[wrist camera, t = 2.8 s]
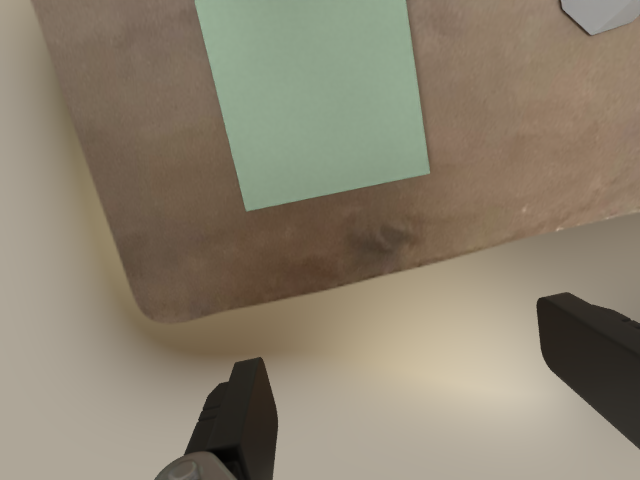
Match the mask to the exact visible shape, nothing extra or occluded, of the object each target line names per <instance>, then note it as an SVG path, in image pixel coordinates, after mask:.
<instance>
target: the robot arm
mask: <svg viewBox="0 0 640 480" xmlns="http://www.w3.org/2000/svg"><path fill="white" fill-rule="evenodd" d="M537 316H538V326H539V336H540V345H541V351H542V355H543V358H544V360H545V362H546V364H547V365H548V367H549V368H550V370H551V371H552V372H554V373H555V374H556V375H557V376H558V377H559V378H560V379H561V380H563V381H564V382H565V383H566V384H567V385H568V386H569V387H570V388H571V389H573V390H574V391H575V392H576V393H577V394H578V395H580V397H582V398H583V399H584V400H585V401H586V402H587V403H588V404H589V405H591V406H592V407H593V408H594V409H595V410H596V411H597V412H598V413H599V414H601V415H602V416H603V417H604V418H605V419H606V420H607V421H608V422H610V423H611V424H612V425H613V426H614V427H615V428H617V429H618V430H619V431H620V432H621V433H622V434H623V435H624V436H625V437H626V438H628V439H629V440H630V441H631V442H632V443H633V444H634V445H635V446H637V447H638V448H639V449H640V323H638V322H636V321H634V320H633V321H631V319H630V318H628V317H626V316H624V315H622V314H620V313H618V312H616V311H614V310H611V309H607V308H604V307H600V306H596V305H591V304H589V303H587V302H585V301H584V300H582V299H580V298H578V297H576V296H574V295H572V294H571V293H567V292H565V293H560V294H556V295H551V296H547V297H542V298H539V299H538V301H537ZM198 420H199V422H197V424H196V426H195V429H194V431H193V434H192V437H191V439H190V441H189V444H188V446H187V449H186V451H185V454H184V456H182V457H180V458H178V459H176V460H175V461H173V462H172V463H170V464H169V465H168V466H166V467H165V468H164V469H163V470H162V471H161V472H160V473H159V474H158V475H157V477H156V478H155V479H154V480H272V479H273V469H274V460H275V451H276V440H277V431H278V417H277V410H276V405H275V401H274V397H273V394H272V390H271V386H270V383H269V379H268V375H267V371H266V368H265V364H264V362H263V359H262V358H261V357H259V358H254V359H250V360H245V361H240V362H236V363H235V364H234V367H233V370H232V373H231V376H230V379H229V382H224V383H220V384H219V385H218V386H217V387H216V388H215V389H214V390H213V391H212V392H211V393H210V394H209V395H208V397H207V399H206V402H205V404H204V407H203V411H202V412H201V414H200V417H199V419H198Z"/></svg>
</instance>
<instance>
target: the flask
mask: <svg viewBox="0 0 640 480" xmlns="http://www.w3.org/2000/svg"><path fill="white" fill-rule="evenodd" d="M561 3H562V9H563V10H564V11H565V12H566V13H567V14H569V15H570V16H571V17H572V18H573V19H574V20H575V21H576V22H577V23H578V24H580V25H581V26H582V27H583V28H584V29H585V30H586V31H587V32H588V33H589V34H591V35H594V34H597V33H601V32H604V31H607V30H610V29H613V28H616V27H619V26H622V25H625V24H629V23H631V22H632V21H633V20H634V19H635V18H637V17H638V16H639V15H640V0H561Z"/></svg>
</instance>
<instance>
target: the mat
mask: <svg viewBox="0 0 640 480" xmlns="http://www.w3.org/2000/svg"><path fill="white" fill-rule="evenodd" d="M194 1H195V5H196V9H197V13H198V18H199V22H200V26H201V30H202V34H203V38H204V42H205V46H206V50H207V54H208V58H209V63H210V67H211V71H212V75H213V79H214V83H215V87H216V91H217V95H218V99H219V103H220V107H221V112H222V116H223V120H224V124H225V128H226V132H227V136H228V140H229V144H230V148H231V152H232V157H233V161H234V165H235V169H236V173H237V177H238V181H239V185H240V189H241V193H242V197H243V202H244V206H245V210H246V211H251V210H256V209H261V208H265V207H270V206H275V205H280V204H285V203H290V202H295V201H299V200H304V199H309V198H314V197H319V196H324V195H328V194H333V193H338V192H343V191H348V190H353V189H358V188H362V187H367V186H372V185H377V184H382V183H387V182H391V181H396V180H401V179H406V178H411V177H416V176H421V175H425V174H430V168H429V161H428V154H427V147H426V140H425V133H424V126H423V119H422V112H421V104H420V97H419V90H418V83H417V76H416V69H415V62H414V55H413V48H412V41H411V33H410V26H409V19H408V12H407V5H406V0H194Z"/></svg>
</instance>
